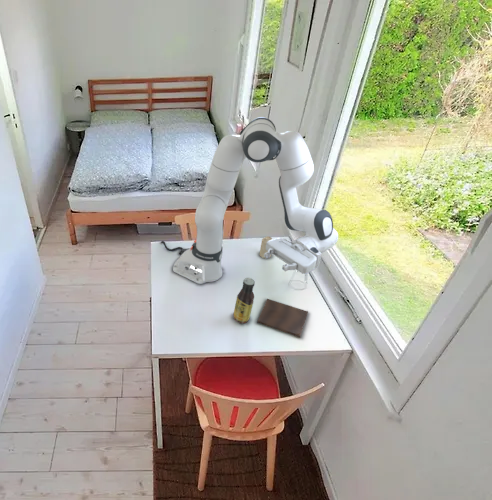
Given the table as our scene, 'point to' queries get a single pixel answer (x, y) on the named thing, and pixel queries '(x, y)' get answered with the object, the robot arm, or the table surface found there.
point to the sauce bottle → (244, 301)
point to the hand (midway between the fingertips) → (274, 262)
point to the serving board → (283, 317)
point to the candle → (264, 246)
